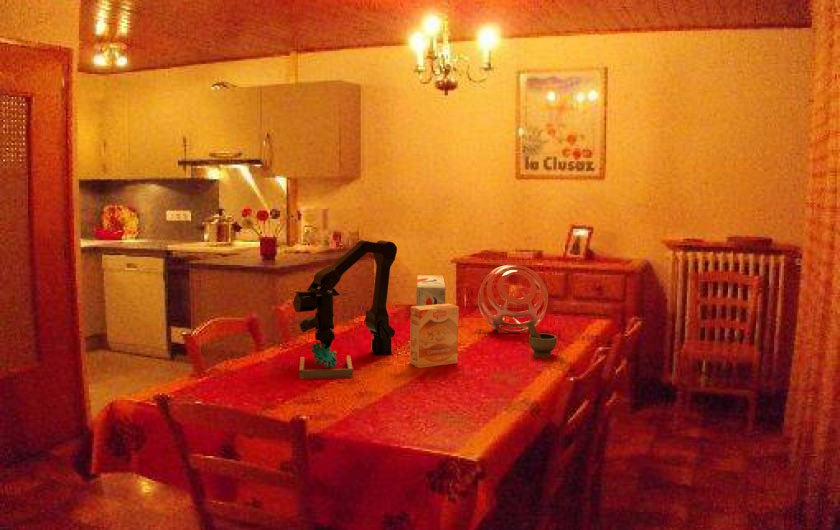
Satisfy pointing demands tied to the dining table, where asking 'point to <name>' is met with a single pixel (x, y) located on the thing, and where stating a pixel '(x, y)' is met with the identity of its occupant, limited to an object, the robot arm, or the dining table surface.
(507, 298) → the spiral basket
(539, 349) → the mortar and pestle
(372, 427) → the dining table surface
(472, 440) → the dining table surface
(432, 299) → the soda pack
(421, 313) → the coffeecake box
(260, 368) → the dining table surface
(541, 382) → the dining table surface
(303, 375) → the mount cradle
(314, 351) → the gear
